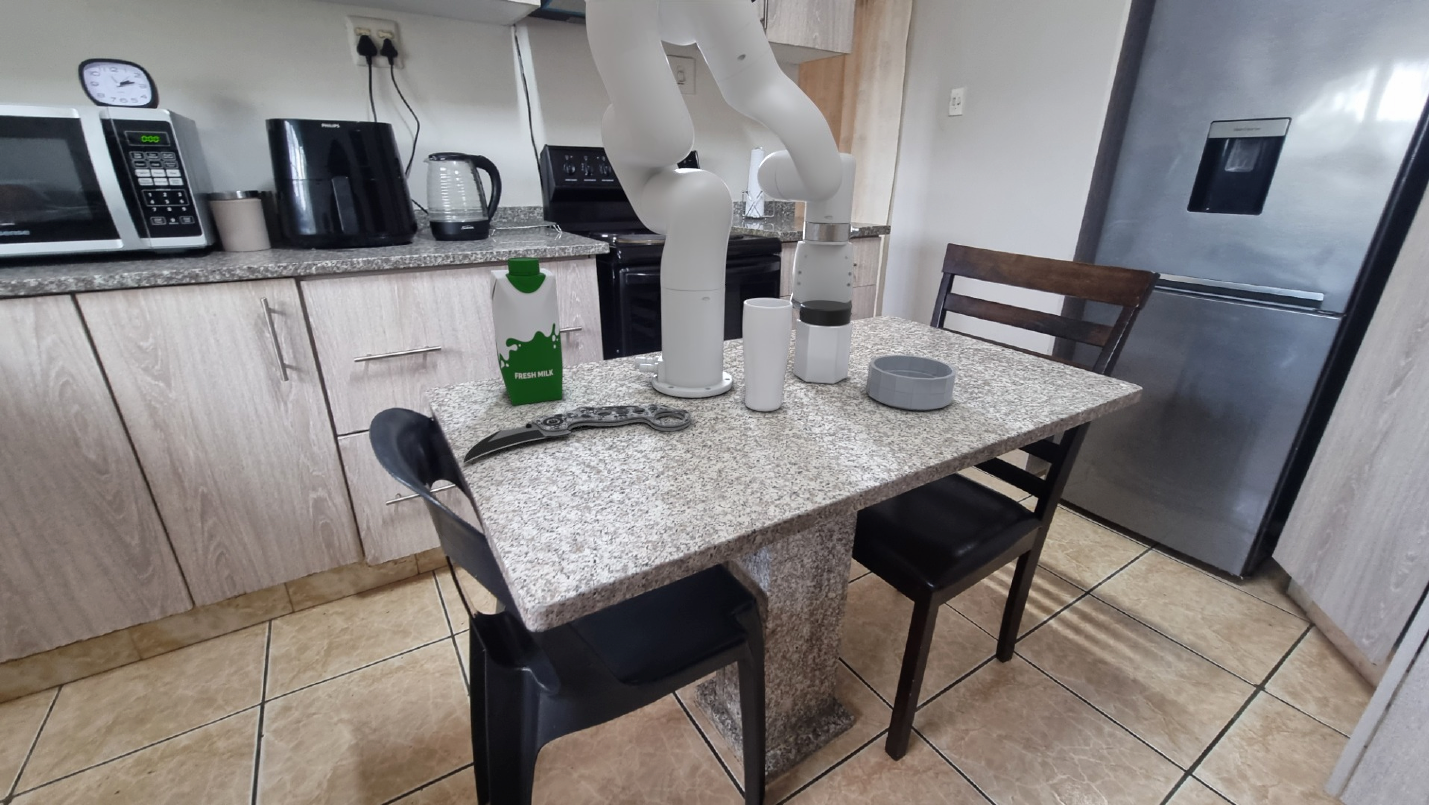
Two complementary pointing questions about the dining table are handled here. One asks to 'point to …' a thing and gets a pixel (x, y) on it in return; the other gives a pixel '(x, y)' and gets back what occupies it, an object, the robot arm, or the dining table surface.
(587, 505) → the dining table surface
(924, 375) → the bowl
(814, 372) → the jar
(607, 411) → the knife
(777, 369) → the drinking glass
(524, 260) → the milk carton
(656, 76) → the robot arm
